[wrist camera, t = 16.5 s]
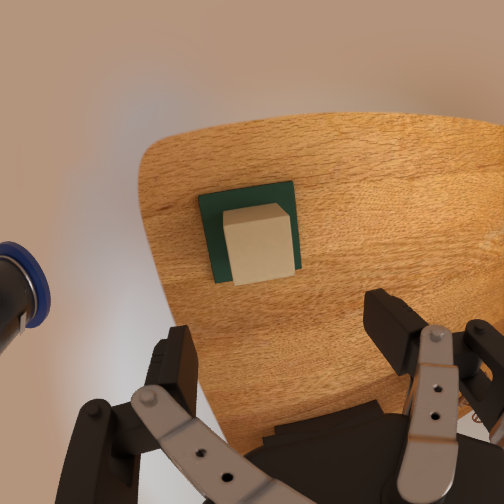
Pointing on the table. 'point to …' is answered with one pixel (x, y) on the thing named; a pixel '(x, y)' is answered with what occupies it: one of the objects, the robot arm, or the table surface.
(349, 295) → the table surface
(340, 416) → the dark grey rectangular frame
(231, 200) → the mat
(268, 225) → the block
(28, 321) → the robot arm
